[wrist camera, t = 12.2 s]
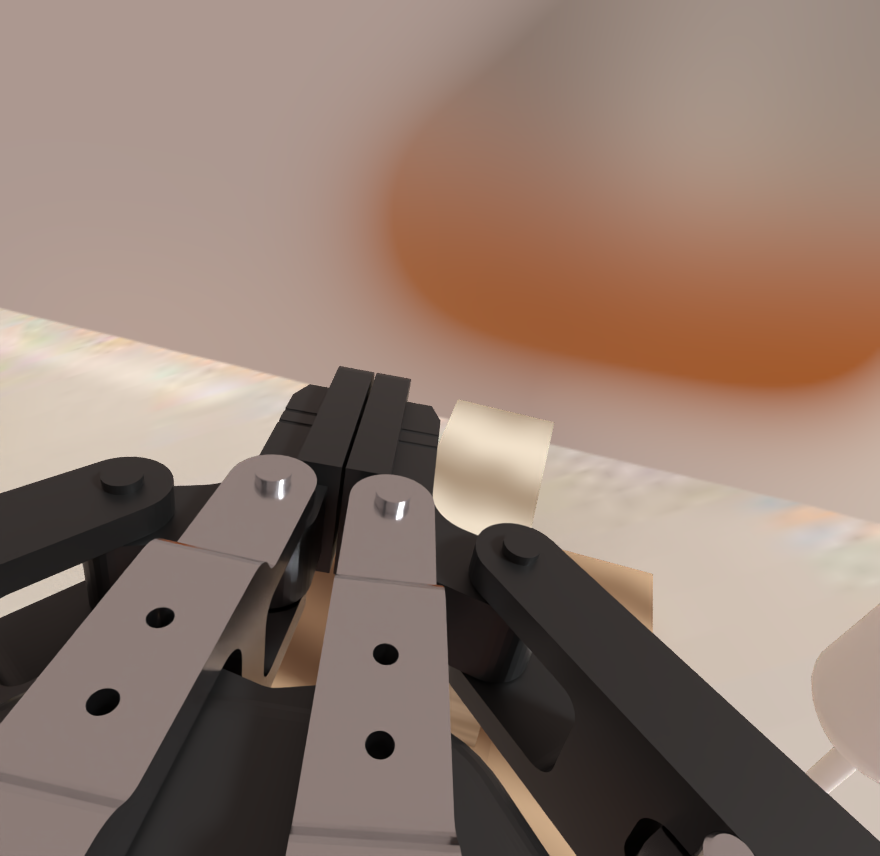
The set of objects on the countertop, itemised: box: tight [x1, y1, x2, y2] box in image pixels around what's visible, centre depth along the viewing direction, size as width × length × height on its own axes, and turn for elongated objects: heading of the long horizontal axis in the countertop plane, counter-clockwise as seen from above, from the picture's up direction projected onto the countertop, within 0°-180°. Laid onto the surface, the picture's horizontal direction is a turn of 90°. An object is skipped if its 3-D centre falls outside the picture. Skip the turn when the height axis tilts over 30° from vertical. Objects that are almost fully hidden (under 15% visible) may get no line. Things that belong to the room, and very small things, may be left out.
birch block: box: [433, 400, 554, 747], centre depth 37 cm, size 14×6×13 cm, turn 164°
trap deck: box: [271, 550, 653, 856], centre depth 36 cm, size 32×26×2 cm
